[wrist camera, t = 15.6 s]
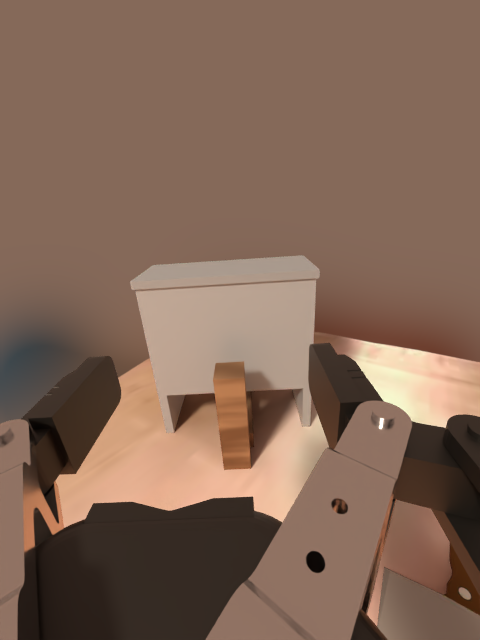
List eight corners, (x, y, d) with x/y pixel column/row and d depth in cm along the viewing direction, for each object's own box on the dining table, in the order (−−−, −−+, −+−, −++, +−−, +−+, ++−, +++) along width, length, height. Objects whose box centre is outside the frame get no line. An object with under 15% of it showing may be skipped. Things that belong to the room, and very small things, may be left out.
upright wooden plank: (254, 468, 36) (248, 377, 31) (220, 469, 37) (208, 379, 31) (250, 383, 53) (246, 315, 48) (226, 384, 54) (220, 317, 48)
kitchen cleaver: (390, 477, 34) (503, 521, 28) (390, 483, 34) (500, 528, 28) (313, 812, 16) (581, 1129, 10) (313, 817, 16) (572, 1125, 10)
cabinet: (312, 427, 42) (319, 269, 33) (164, 434, 43) (129, 281, 34) (300, 388, 51) (303, 255, 42) (177, 394, 52) (153, 265, 42)
